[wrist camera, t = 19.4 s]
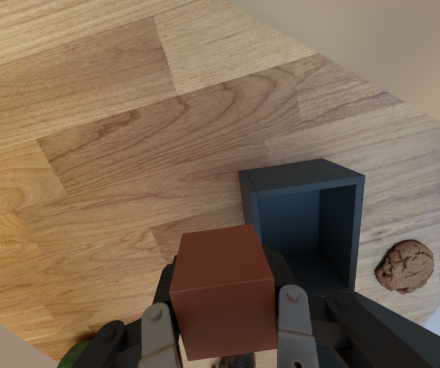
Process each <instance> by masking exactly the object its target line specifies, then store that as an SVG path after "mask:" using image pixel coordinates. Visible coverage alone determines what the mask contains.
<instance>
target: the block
mask: <svg viewBox="0 0 440 368" xmlns="http://www.w3.org/2000/svg"><path fill="white" fill-rule="evenodd" d="M169 294H170V298H171V302H172V305H173V309H174V312H175V316H176V320H177V323H178V327H179V330H180V334H181V338H182V341H183V345H184V348H185V352H186V356H187V359H188V361H193V360H200V359H207V358H215V357H222V356H229V355H236V354H243V353H251V352H258V351H265V350H272V349H277V347H278V345H277V326H276V308H275V290H274V277H273V274H272V272H271V269H270V267H269V264H268V262H267V259H266V256H265V254H264V251H263V249H262V246H261V243H260V241H259V238H258V236H257V233H256V231H255V228H254V225H253V224H249V225H242V226H235V227H227V228H220V229H213V230H206V231H199V232H191V233H184V234H182V238H181V242H180V247H179V251H178V255H177V260H176V264H175V268H174V273H173V277H172V281H171V285H170V290H169Z"/></svg>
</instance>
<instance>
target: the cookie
mask: <svg viewBox="0 0 440 368" xmlns="http://www.w3.org/2000/svg"><path fill="white" fill-rule="evenodd" d="M388 255H389V256H387V257H386V260H385V263H384V265H383V267H380V268H379V269H378V271H377V272H376V274H377V278H378V280H379V282H380V284H381V285H382V286H384V287H385V288H387V289H388V290H390V291H393V290H396V291H397V292H399V293H400V294H402V295H404V294H407V293H411V292H413V291H415V290H416V289H417V288H418V289H419V288H421V287H423V286H424V285H425V284H426V283H427V280H428V279H429V278H430V277H431V275H432V273H433V272H434V269H433V268H434V263H433V262H434V259H433V253H432V252H431V251H430V249H429V248H428V247H427V246H425V245H421V243H420V242H418V241H412V240H411V241H407V242H403V243H401V244H399V245H397V246H396V247H395V248H394V249H393V251H392V252H390V253H389V254H388Z"/></svg>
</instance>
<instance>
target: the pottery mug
mask: <svg viewBox="0 0 440 368" xmlns="http://www.w3.org/2000/svg"><path fill="white" fill-rule="evenodd" d="M255 366H256V364H255V355H254V354H253V353H243V354H236V355H235V356H234V355H229V356H222V358H221V360H220V363H219V367H218V368H255ZM212 368H216V367H215V366H212Z"/></svg>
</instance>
